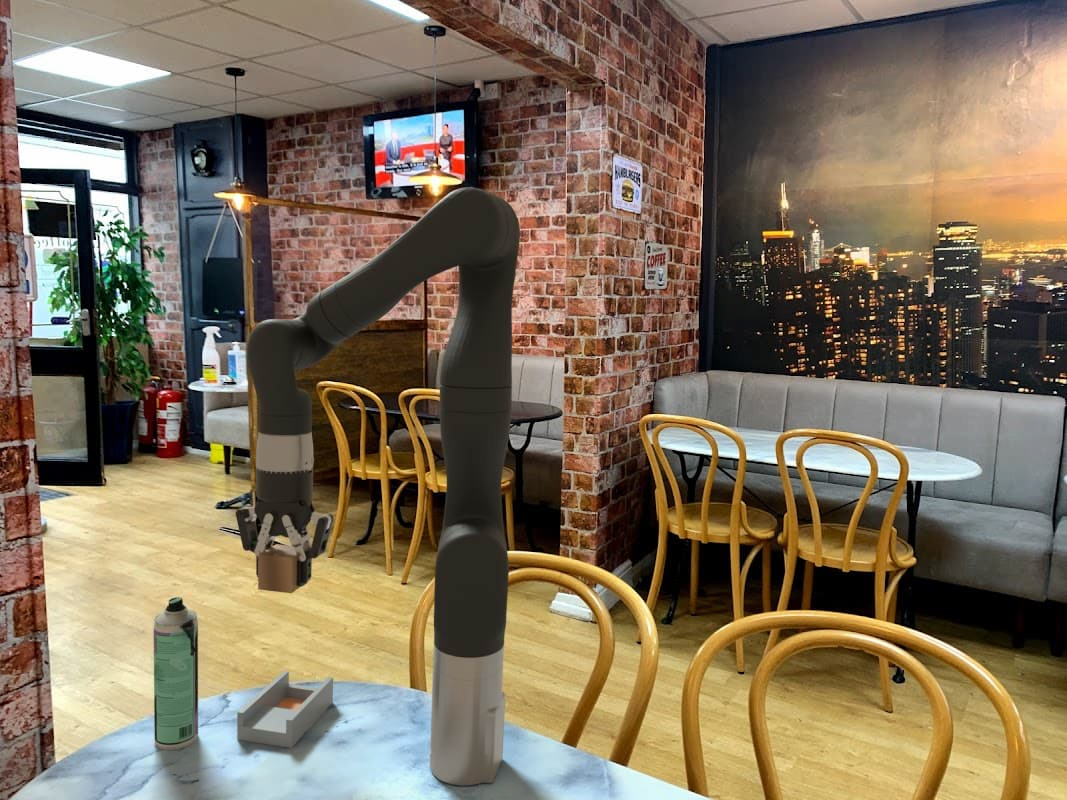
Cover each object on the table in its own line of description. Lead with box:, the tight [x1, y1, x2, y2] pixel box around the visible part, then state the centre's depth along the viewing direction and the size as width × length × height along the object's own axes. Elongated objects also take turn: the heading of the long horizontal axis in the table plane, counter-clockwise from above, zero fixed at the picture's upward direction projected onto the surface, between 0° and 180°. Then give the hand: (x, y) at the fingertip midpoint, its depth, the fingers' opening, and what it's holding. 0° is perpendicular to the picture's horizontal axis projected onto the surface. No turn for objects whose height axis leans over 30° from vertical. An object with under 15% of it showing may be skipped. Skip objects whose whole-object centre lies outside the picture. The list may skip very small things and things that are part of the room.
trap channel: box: [236, 670, 334, 749], centre depth 114 cm, size 8×13×4 cm, turn 169°
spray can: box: [153, 596, 199, 751], centre depth 107 cm, size 6×6×20 cm
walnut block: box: [257, 543, 301, 594], centre depth 110 cm, size 5×5×5 cm
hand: (283, 582), depth 110 cm, fingers closed on walnut block, 5 cm apart
